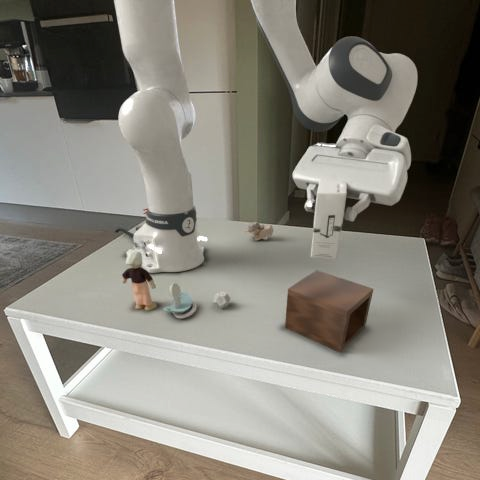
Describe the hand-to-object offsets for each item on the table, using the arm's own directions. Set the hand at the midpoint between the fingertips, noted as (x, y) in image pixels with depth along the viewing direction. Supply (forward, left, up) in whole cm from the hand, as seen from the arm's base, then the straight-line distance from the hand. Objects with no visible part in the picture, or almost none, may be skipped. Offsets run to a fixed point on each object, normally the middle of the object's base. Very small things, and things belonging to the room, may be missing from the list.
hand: (327, 214), depth 65 cm
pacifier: (-21, -18, -21) cm, 35 cm away
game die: (-16, -11, -21) cm, 29 cm away
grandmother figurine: (-29, -22, -21) cm, 42 cm away
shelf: (+5, -4, -20) cm, 21 cm away
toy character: (-34, +24, -21) cm, 47 cm away
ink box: (0, 0, -7) cm, 7 cm away
